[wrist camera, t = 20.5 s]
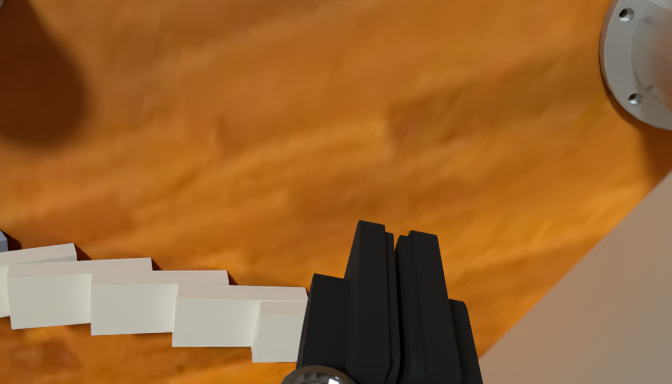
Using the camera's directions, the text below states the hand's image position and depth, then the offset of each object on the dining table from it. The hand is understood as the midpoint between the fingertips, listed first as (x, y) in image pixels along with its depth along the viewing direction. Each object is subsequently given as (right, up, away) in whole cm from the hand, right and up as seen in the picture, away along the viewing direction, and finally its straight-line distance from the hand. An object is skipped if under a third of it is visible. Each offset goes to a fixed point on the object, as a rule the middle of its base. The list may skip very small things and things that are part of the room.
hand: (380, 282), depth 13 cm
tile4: (-16, -6, +35) cm, 39 cm away
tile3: (-10, -7, +35) cm, 37 cm away
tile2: (-4, -8, +35) cm, 36 cm away
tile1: (+2, -10, +36) cm, 37 cm away
